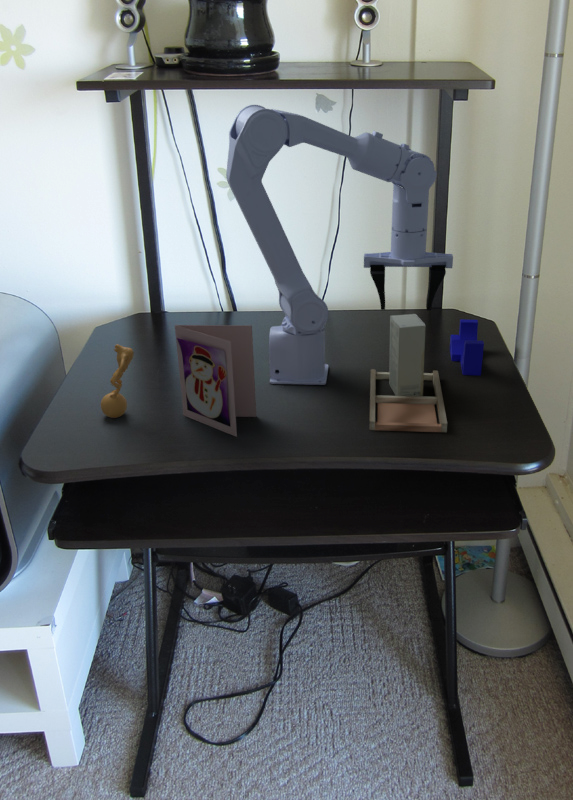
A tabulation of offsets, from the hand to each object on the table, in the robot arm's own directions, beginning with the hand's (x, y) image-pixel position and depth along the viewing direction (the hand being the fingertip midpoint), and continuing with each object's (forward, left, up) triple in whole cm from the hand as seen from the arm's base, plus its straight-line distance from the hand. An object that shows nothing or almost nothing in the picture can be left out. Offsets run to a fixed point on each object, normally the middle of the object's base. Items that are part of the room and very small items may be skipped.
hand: (405, 308), depth 126 cm
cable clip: (+11, +2, -11) cm, 15 cm away
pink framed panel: (0, -16, -10) cm, 19 cm away
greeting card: (-28, -23, -11) cm, 38 cm away
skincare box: (0, -11, -11) cm, 15 cm away
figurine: (-44, -23, -11) cm, 51 cm away
